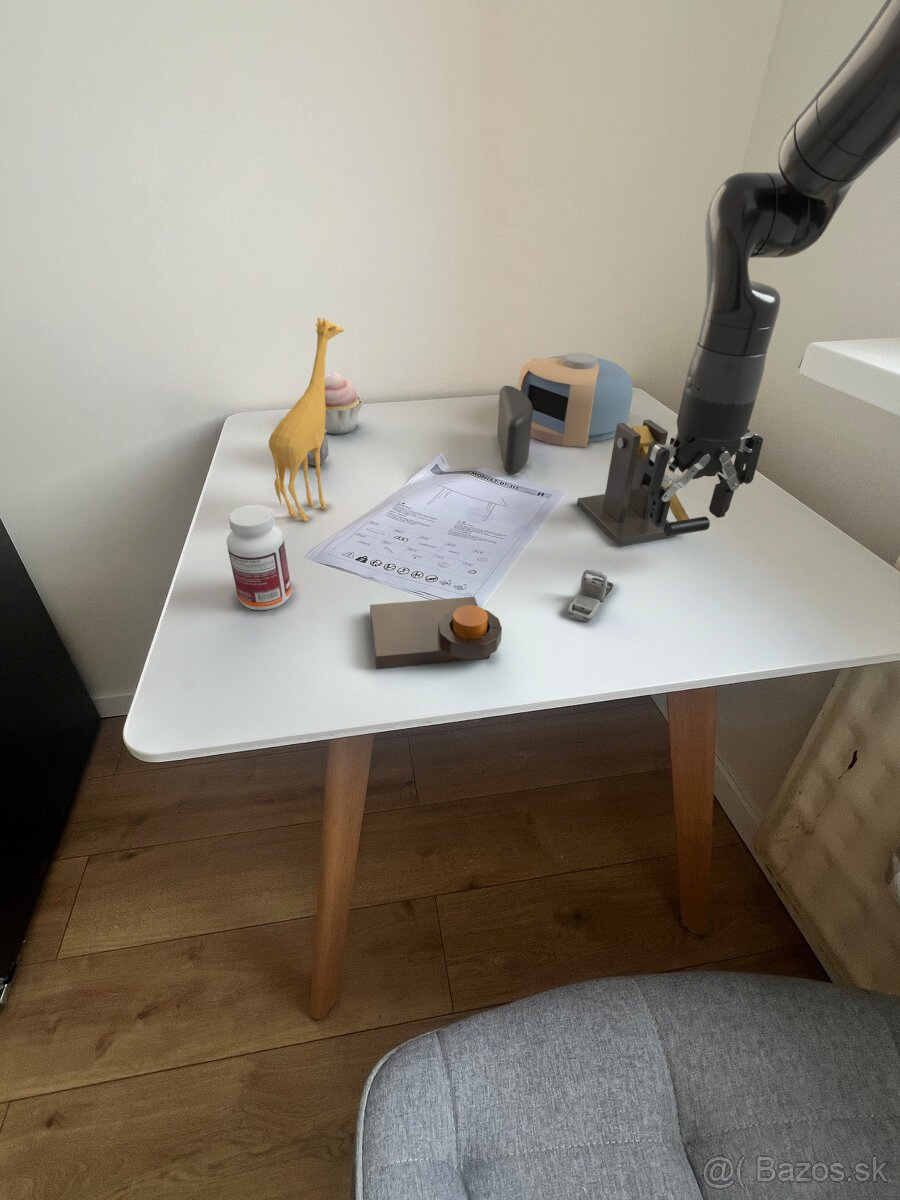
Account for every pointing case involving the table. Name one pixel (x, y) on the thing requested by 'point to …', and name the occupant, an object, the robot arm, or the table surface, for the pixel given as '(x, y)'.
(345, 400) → the cupcake
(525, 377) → the alarm clock
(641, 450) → the lever handle
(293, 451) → the giraffe
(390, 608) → the switch block
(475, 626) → the light button
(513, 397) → the leaning round-cornered charcoal block
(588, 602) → the strap clip
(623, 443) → the lever stand
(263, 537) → the pill bottle
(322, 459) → the stone
